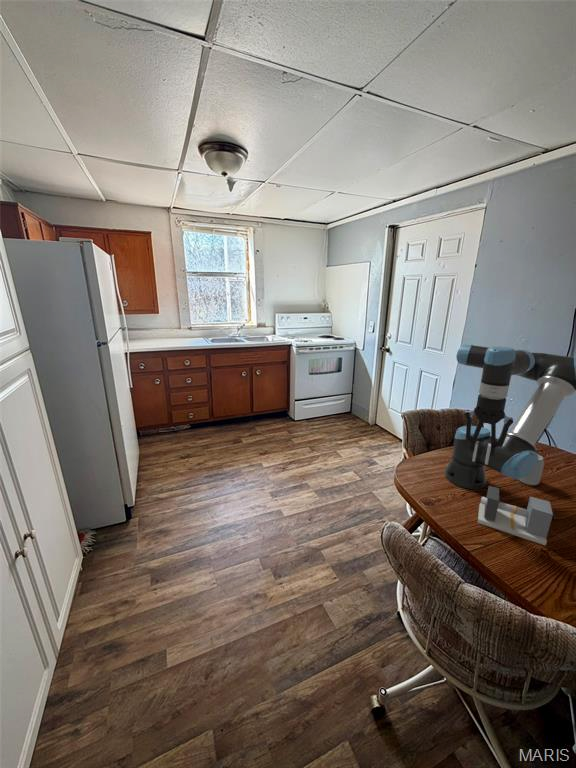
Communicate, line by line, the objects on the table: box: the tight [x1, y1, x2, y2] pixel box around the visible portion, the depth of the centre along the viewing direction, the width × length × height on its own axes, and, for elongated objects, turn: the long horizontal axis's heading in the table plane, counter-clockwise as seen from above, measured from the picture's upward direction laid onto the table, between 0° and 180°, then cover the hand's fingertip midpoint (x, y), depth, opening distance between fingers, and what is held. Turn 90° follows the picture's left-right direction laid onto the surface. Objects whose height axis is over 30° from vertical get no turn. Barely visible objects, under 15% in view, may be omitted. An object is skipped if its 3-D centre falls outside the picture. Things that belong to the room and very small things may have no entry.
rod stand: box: [477, 496, 554, 547], centre depth 101 cm, size 18×10×10 cm, turn 56°
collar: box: [484, 485, 500, 521], centre depth 104 cm, size 3×8×8 cm, turn 146°
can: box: [518, 453, 546, 486], centre depth 124 cm, size 8×8×12 cm
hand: (480, 461), depth 102 cm, fingers open, 3 cm apart
